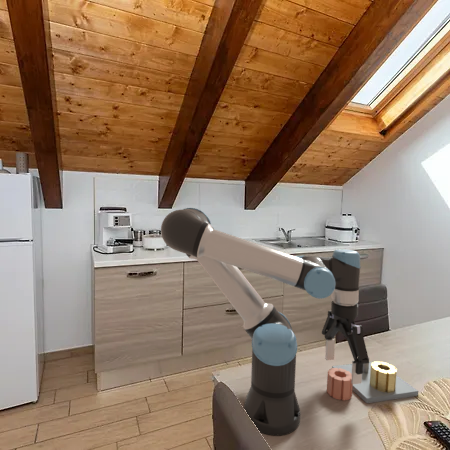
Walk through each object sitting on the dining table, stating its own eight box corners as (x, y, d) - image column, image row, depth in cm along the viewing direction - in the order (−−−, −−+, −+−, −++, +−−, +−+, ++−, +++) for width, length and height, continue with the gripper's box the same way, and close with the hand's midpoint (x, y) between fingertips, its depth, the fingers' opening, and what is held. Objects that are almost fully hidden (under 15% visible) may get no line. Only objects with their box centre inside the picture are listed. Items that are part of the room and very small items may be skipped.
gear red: (335, 401, 93) (336, 381, 93) (322, 387, 100) (323, 369, 99) (356, 398, 95) (357, 379, 94) (342, 385, 102) (343, 366, 101)
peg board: (366, 403, 93) (367, 381, 92) (331, 370, 110) (333, 352, 110) (418, 395, 97) (419, 375, 96) (376, 365, 114) (378, 347, 114)
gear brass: (380, 393, 95) (382, 374, 94) (365, 380, 102) (366, 362, 101) (400, 391, 97) (402, 372, 96) (384, 378, 103) (385, 360, 103)
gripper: (385, 316, 84) (382, 393, 85) (332, 289, 108) (330, 350, 110) (360, 318, 82) (357, 397, 84) (312, 290, 106) (310, 352, 108)
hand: (342, 370), depth 97 cm, fingers open, 13 cm apart
